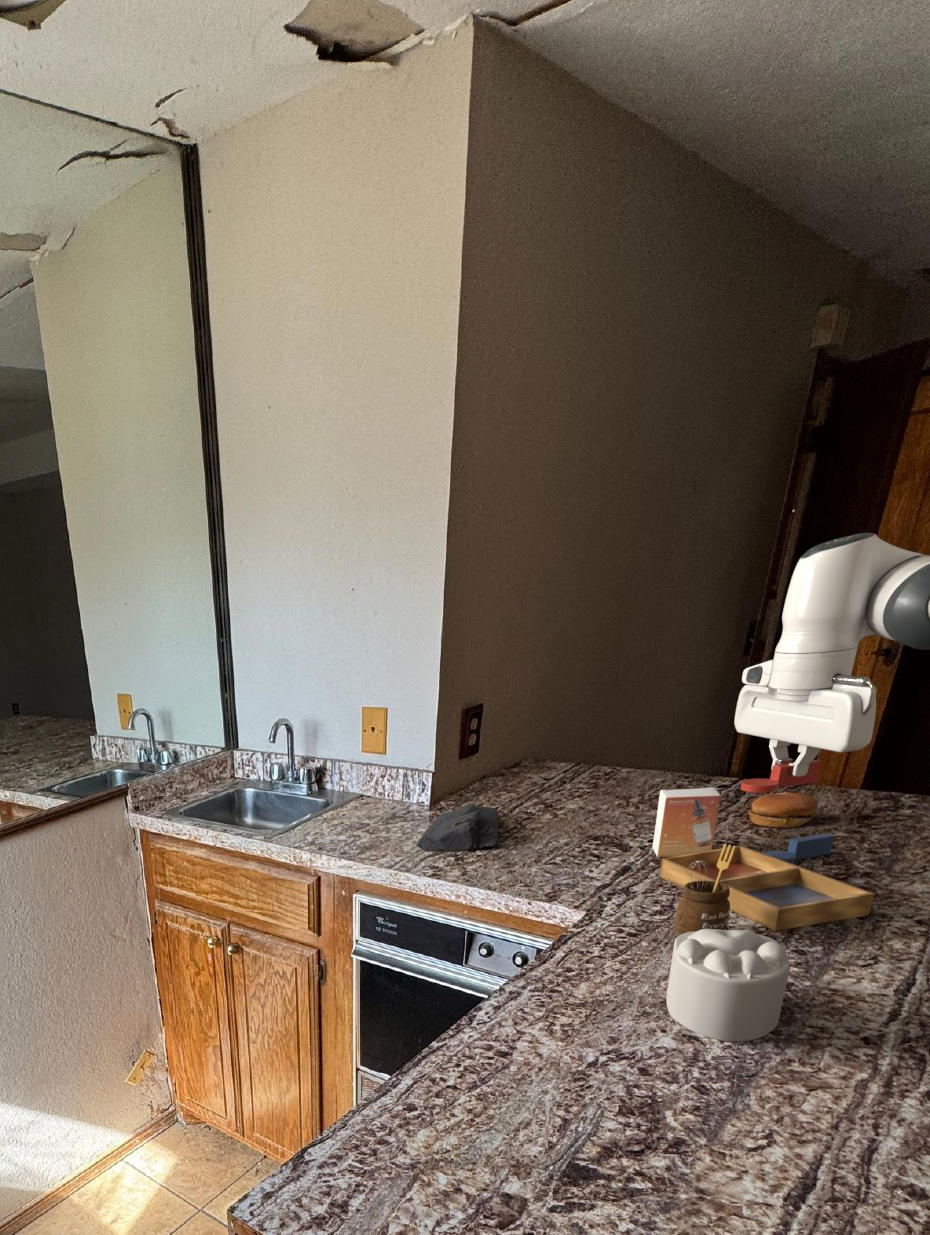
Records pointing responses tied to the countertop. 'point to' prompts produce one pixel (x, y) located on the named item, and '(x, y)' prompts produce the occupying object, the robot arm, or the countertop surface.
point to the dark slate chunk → (462, 830)
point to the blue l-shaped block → (805, 848)
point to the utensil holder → (705, 901)
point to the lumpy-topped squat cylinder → (727, 983)
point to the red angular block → (781, 778)
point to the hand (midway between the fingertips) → (788, 773)
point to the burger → (782, 810)
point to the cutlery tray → (772, 888)
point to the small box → (686, 821)
